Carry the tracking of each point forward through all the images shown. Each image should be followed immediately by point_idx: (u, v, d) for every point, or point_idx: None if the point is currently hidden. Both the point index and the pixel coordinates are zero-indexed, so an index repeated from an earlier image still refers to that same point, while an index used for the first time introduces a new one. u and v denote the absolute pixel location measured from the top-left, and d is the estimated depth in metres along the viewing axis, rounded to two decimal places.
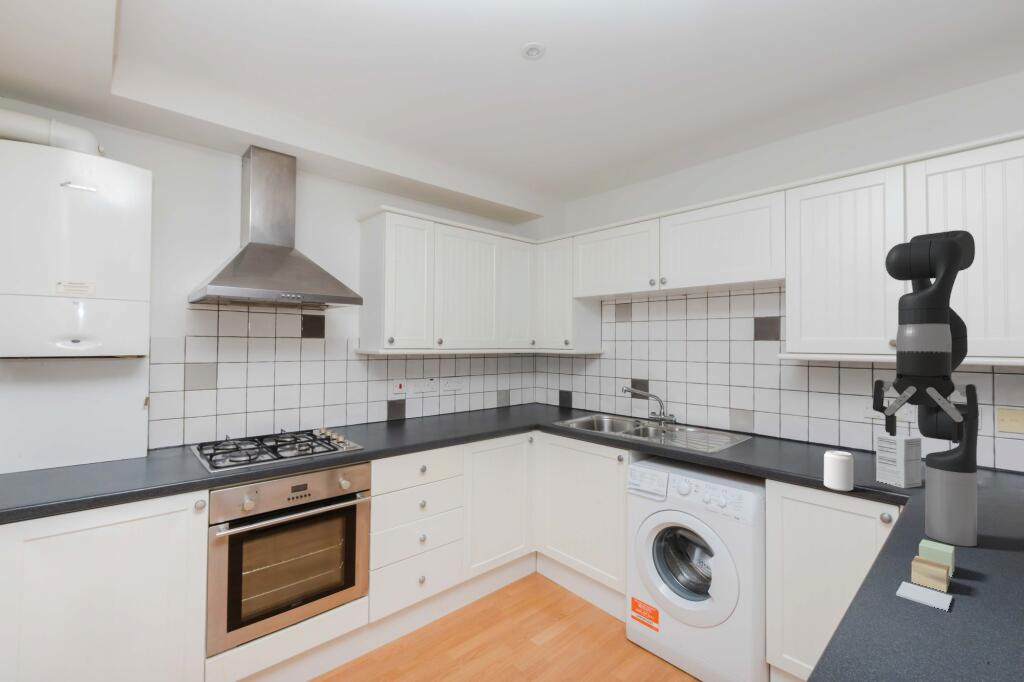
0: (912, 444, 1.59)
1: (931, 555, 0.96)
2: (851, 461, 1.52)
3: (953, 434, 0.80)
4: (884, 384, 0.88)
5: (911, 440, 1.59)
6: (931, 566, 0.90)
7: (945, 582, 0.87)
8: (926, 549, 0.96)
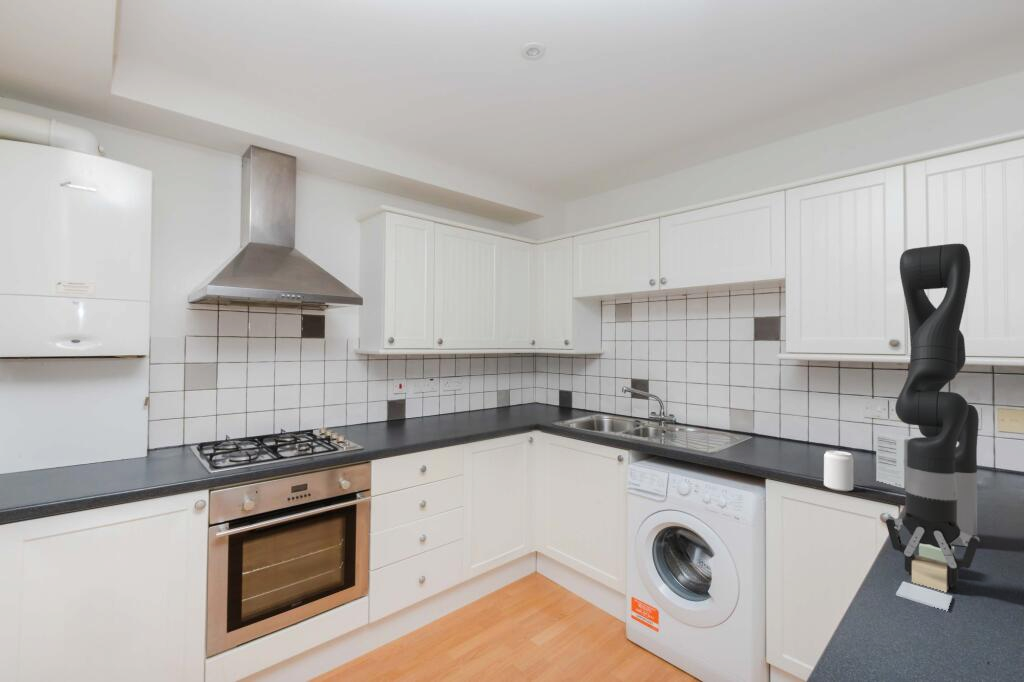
0: None
1: (931, 555, 0.96)
2: (851, 461, 1.52)
3: (948, 578, 0.88)
4: (895, 522, 0.95)
5: None
6: (931, 565, 0.89)
7: (945, 581, 0.87)
8: (926, 549, 0.96)
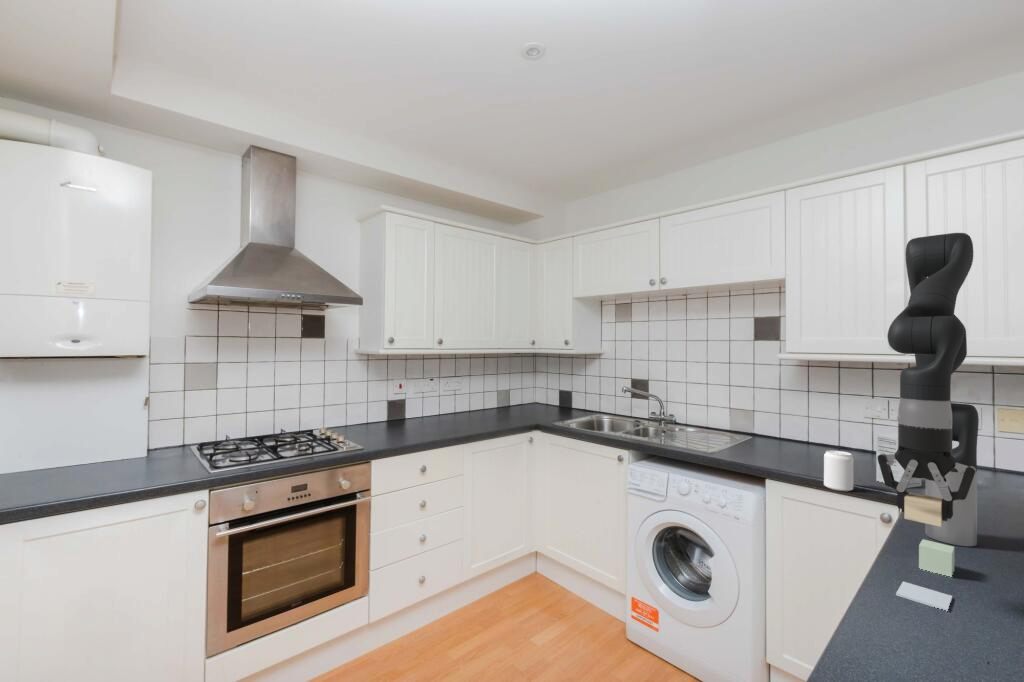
0: None
1: (931, 555, 0.96)
2: (851, 461, 1.52)
3: (942, 512, 0.83)
4: (887, 458, 0.90)
5: None
6: (925, 500, 0.84)
7: (940, 515, 0.82)
8: (926, 549, 0.96)
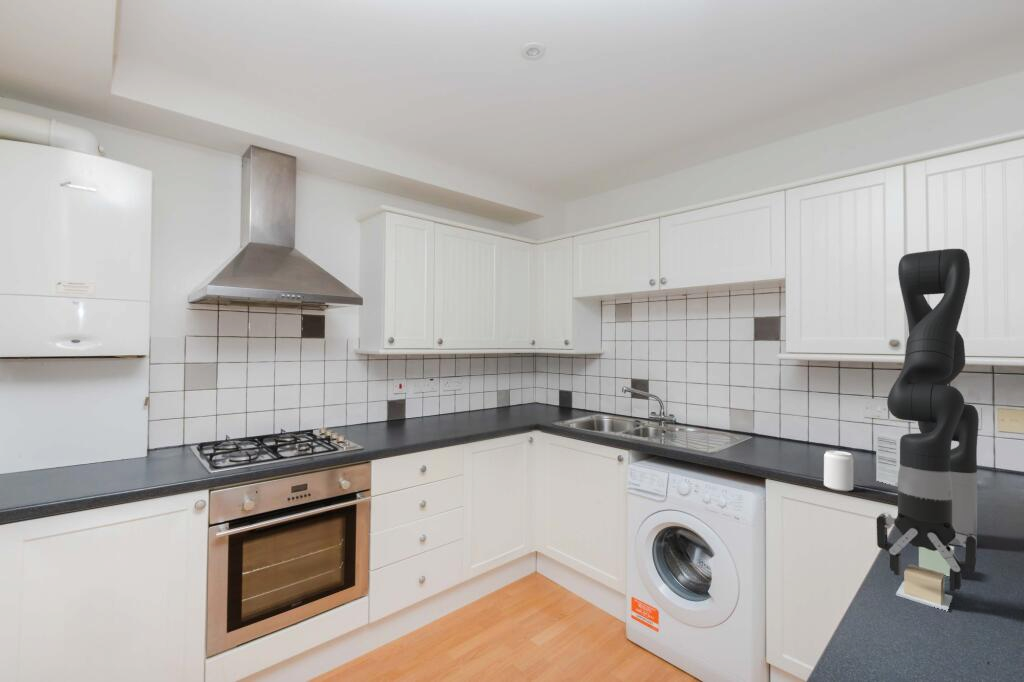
0: None
1: (931, 555, 0.96)
2: (851, 461, 1.52)
3: (950, 582, 0.82)
4: (886, 521, 0.89)
5: None
6: (924, 576, 0.84)
7: (940, 593, 0.82)
8: (925, 549, 0.96)
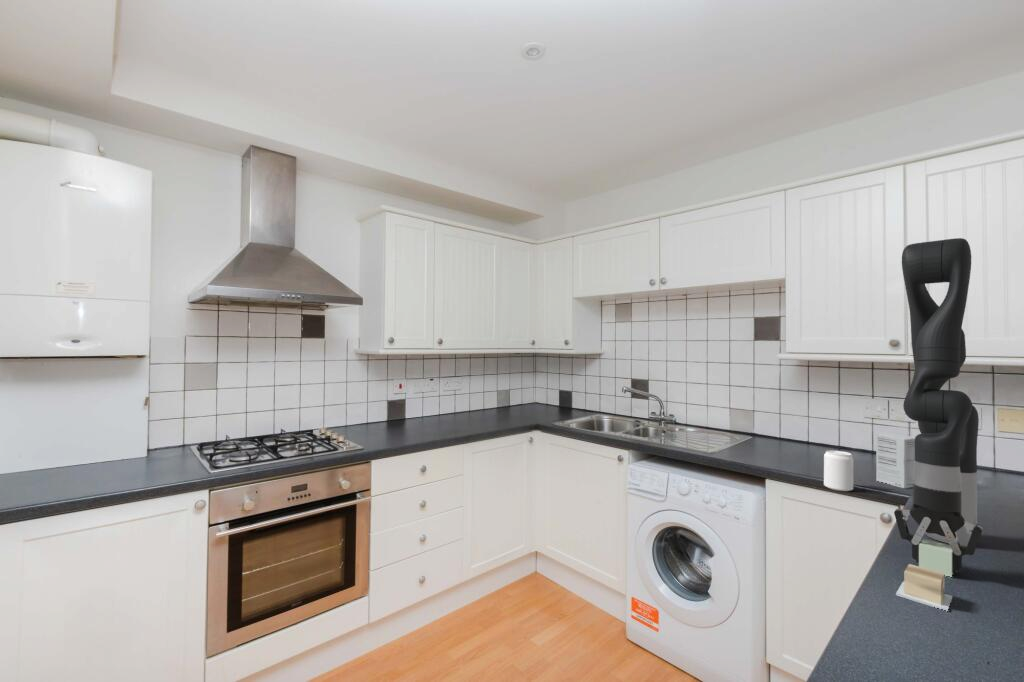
0: (912, 444, 1.59)
1: (931, 555, 0.96)
2: (851, 461, 1.52)
3: (953, 565, 0.94)
4: (903, 513, 1.01)
5: (911, 440, 1.59)
6: (924, 576, 0.84)
7: (940, 593, 0.82)
8: (926, 548, 0.96)
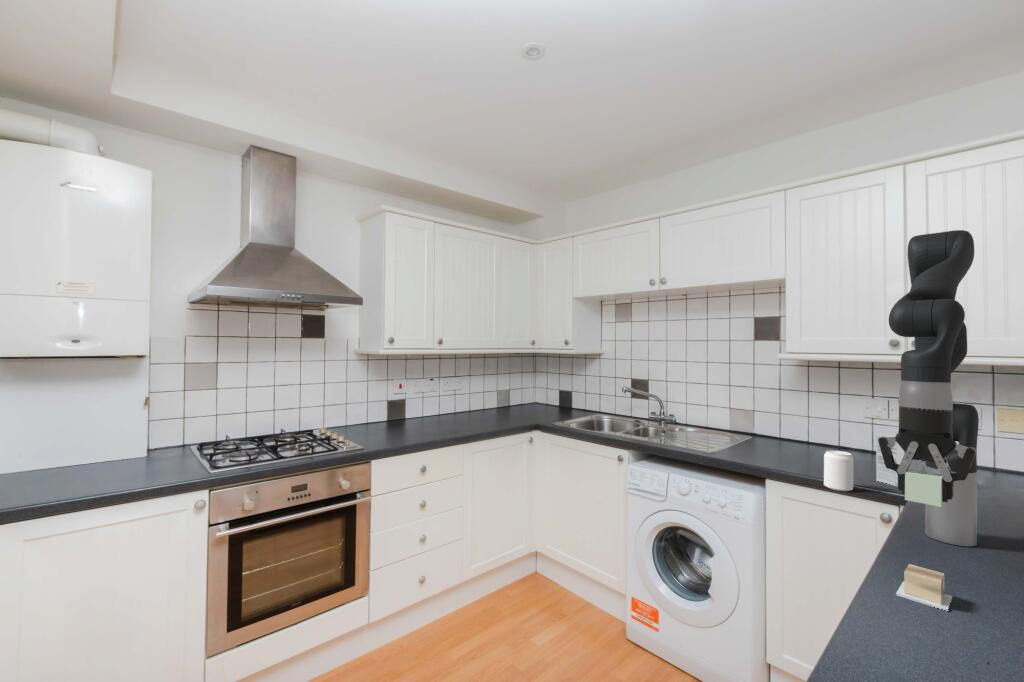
0: None
1: (918, 483, 0.85)
2: (851, 461, 1.52)
3: (943, 493, 0.84)
4: (888, 441, 0.90)
5: None
6: (924, 576, 0.84)
7: (940, 593, 0.82)
8: (912, 476, 0.86)
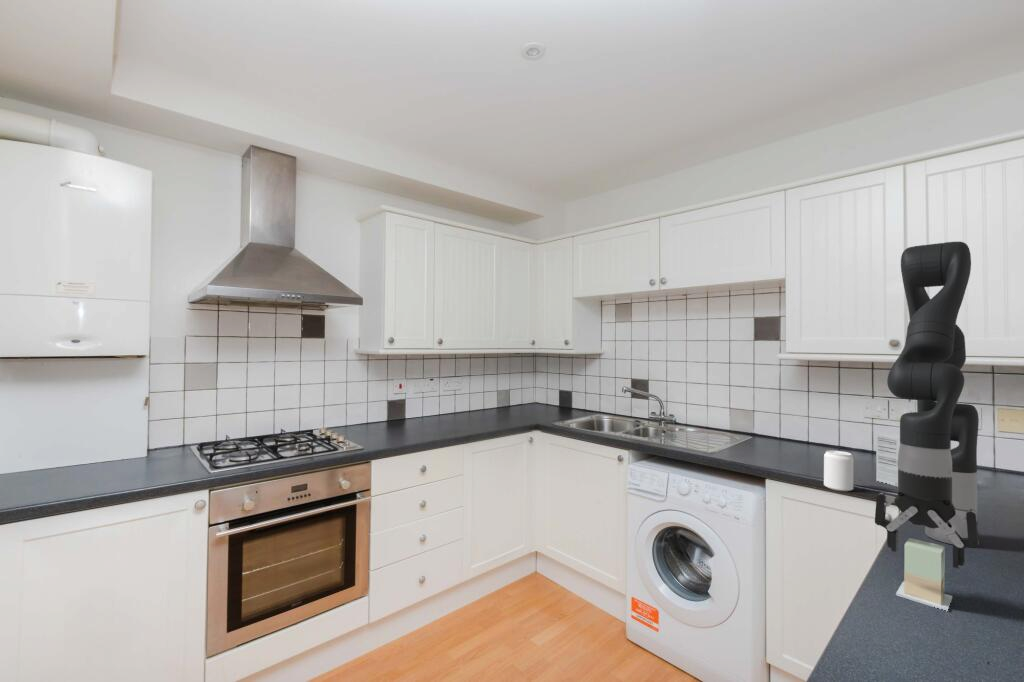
0: None
1: (918, 556, 0.84)
2: (851, 461, 1.52)
3: (954, 559, 0.82)
4: (886, 499, 0.90)
5: None
6: None
7: (940, 593, 0.82)
8: (912, 549, 0.85)
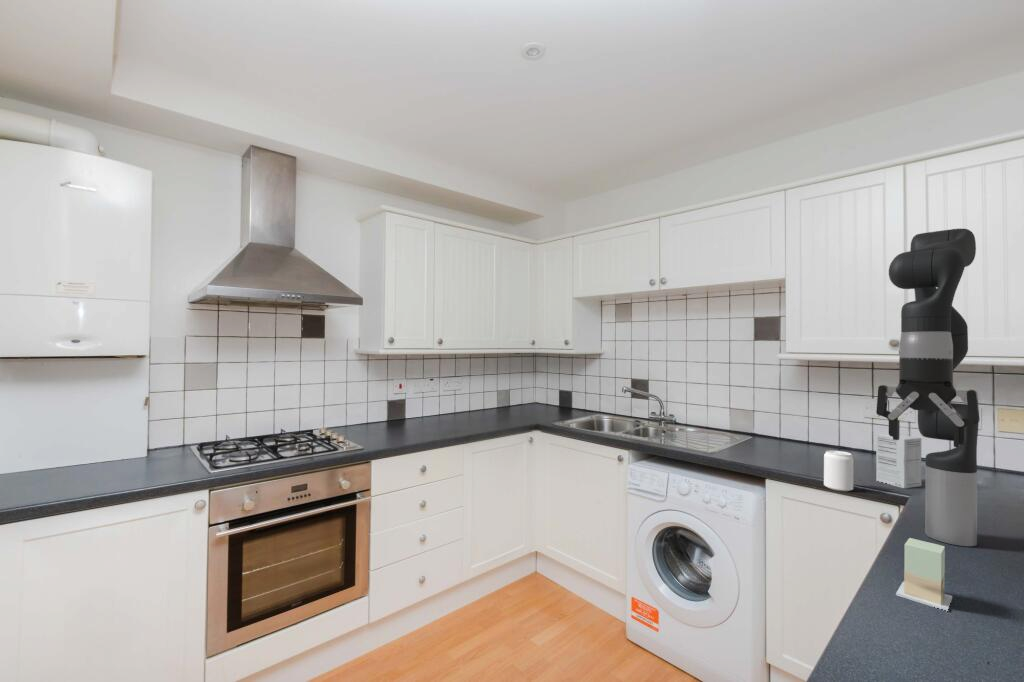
0: (912, 444, 1.59)
1: (918, 556, 0.84)
2: (851, 461, 1.52)
3: (954, 438, 0.83)
4: (887, 389, 0.91)
5: (911, 440, 1.59)
6: None
7: (940, 593, 0.82)
8: (912, 549, 0.85)
